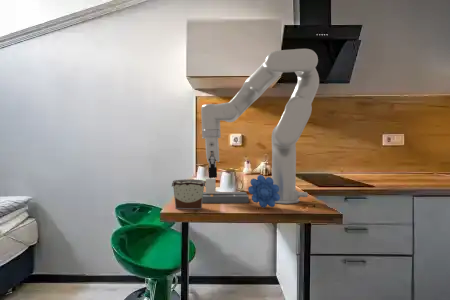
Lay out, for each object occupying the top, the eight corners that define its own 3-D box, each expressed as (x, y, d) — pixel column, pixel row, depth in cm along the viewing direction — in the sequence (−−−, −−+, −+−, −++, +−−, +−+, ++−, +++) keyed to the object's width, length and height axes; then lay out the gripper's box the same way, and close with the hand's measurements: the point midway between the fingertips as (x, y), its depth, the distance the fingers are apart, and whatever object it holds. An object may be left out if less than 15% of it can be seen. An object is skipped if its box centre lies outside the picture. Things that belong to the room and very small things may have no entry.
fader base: (245, 197, 152) (245, 191, 152) (248, 202, 140) (248, 196, 140) (201, 197, 151) (201, 191, 151) (200, 202, 139) (200, 196, 139)
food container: (207, 206, 132) (208, 179, 132) (205, 209, 126) (205, 181, 126) (175, 205, 133) (175, 179, 133) (171, 208, 127) (171, 180, 127)
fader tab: (215, 195, 147) (215, 177, 146) (215, 196, 144) (215, 178, 143) (205, 195, 146) (205, 177, 146) (205, 196, 143) (205, 178, 143)
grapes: (248, 209, 126) (248, 175, 126) (248, 206, 133) (248, 174, 132) (281, 210, 125) (281, 176, 125) (279, 206, 132) (279, 174, 132)
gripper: (221, 133, 136) (222, 178, 136) (220, 134, 153) (221, 174, 154) (201, 134, 136) (203, 179, 136) (202, 135, 153) (204, 175, 153)
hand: (212, 176), depth 145 cm, fingers open, 9 cm apart
